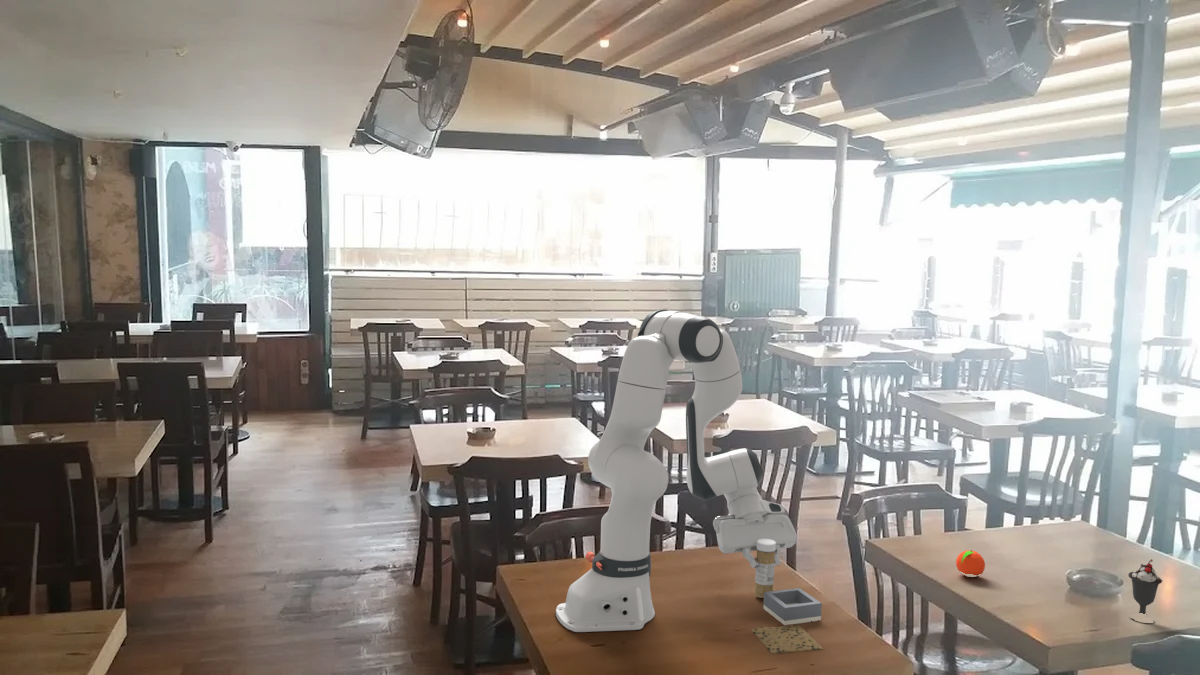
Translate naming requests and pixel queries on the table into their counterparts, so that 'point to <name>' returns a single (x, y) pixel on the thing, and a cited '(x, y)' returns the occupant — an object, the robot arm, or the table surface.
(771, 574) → the sprinkles bottle
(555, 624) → the table surface
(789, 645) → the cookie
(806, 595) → the block
